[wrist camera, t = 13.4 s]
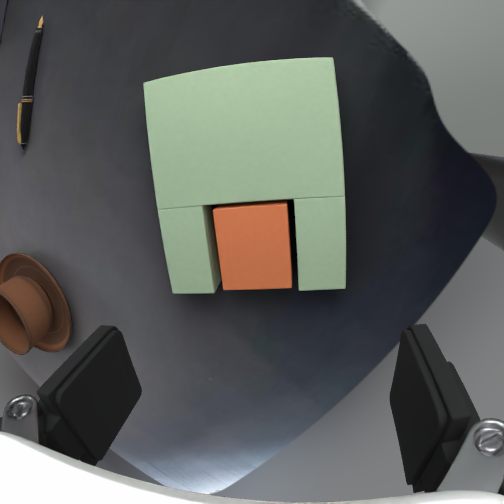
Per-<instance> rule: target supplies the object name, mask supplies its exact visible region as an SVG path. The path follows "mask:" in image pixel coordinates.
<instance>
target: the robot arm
mask: <svg viewBox="0 0 504 504" xmlns="http://www.w3.org/2000/svg"><path fill="white" fill-rule="evenodd" d="M141 392H142V390H141V386H140V383H139V380H138V378H137V375H136V372H135V370H134V367H133V364H132V361H131V358H130V356H129V353H128V350H127V347H126V344H125V341H124V338H123V335H122V333H121V332H120V331H119V330H118V329H117V327H115V326H100V327H99V328H98V329H97V330H96V331H95V332H94V333H93V334H92V335H91V336H90V337H89V338H88V339H87V340H86V341H85V342H84V343H83V344H82V345H81V346H80V347H79V348H78V349H77V350H76V351H75V352H74V353H73V354H72V355H71V356H70V357H69V358H68V359H67V360H66V361H65V362H64V363H63V364H62V365H61V366H60V367H59V368H58V369H57V370H56V371H55V372H54V374H53V375H52V376H51V377H50V378H49V379H48V380H47V381H46V382H45V383H44V384H43V385H42V386H41V387H40V389H39V390H38V391H37V394H38V396H39V397H40V400H39V402H38V401H37V400H36V399H35V397H33V396H31V395H20V396H17V397H15V398H13V399H12V400H11V401H9V402H8V403H7V405H6V406H5V408H4V411H3V417H1V418H0V504H504V421H501V420H499V419H494V418H489V419H483V420H480V418H479V416H478V414H477V411H476V409H475V407H474V405H473V403H472V401H471V399H470V397H469V395H468V393H467V391H466V389H465V387H464V385H463V383H462V381H461V379H460V377H459V375H458V373H457V371H456V369H455V367H454V365H453V364H452V363H451V362H447V361H446V359H445V358H444V356H443V354H442V352H441V350H440V348H439V346H438V344H437V343H436V341H435V339H434V337H433V335H432V333H431V332H430V330H429V328H428V326H427V325H426V324H419V325H409V326H408V328H407V330H404V331H402V333H401V339H400V345H399V351H398V356H397V362H396V367H395V372H394V377H393V382H392V387H391V391H390V405H391V409H392V414H393V418H394V422H395V427H396V431H397V436H398V440H399V446H400V451H401V455H402V460H403V466H404V471H405V477H406V482H407V484H408V485H411V484H412V486H413V492H414V493H416V492H421V491H425V493H419V494H411V495H403V496H394V497H387V498H378V499H367V500H355V501H336V502H276V501H259V500H248V499H238V498H228V497H221V496H213V495H207V494H201V493H195V492H190V491H184V490H179V489H174V488H170V487H165V486H161V485H156V484H152V483H148V482H144V481H141V480H137V479H133V478H130V477H126V476H123V475H120V474H116V473H113V472H110V471H107V470H104V469H101V468H98V467H95V465H96V464H97V462H98V461H99V460H102V459H103V457H104V455H105V454H106V452H107V450H108V449H109V447H110V446H111V444H112V442H113V441H114V439H115V437H116V436H117V434H118V432H119V431H120V429H121V427H122V426H123V424H124V423H125V421H126V419H127V418H128V416H129V414H130V413H131V411H132V409H133V408H134V406H135V405H136V403H137V401H138V400H139V398H140V396H141ZM79 459H80V460H81V461H82V462H81V461H79Z"/></svg>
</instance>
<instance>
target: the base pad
mask: <svg viewBox="0 0 504 504" xmlns="http://www.w3.org/2000/svg"><path fill="white" fill-rule="evenodd" d="M144 96H145V108H146V119H147V129H148V139H149V148H150V156H151V165H152V172H153V180H154V187H155V194H156V201H157V208H158V214H159V221H160V227H161V233H162V239H163V244H164V250H165V256H166V261H167V266H168V271H169V277H170V282H171V287H172V291H173V294H188V293H215V291H216V289H217V287H218V285H219V283H220V281H221V276H220V268H219V261H218V254H217V246H216V239H215V231H214V223H213V215H212V207H211V205H215V204H227V203H240V202H254V201H269V200H285V199H294V209H295V225H296V242H297V262H298V284H299V291H305V290H326V289H345V288H346V212H345V197H344V196H345V186H344V166H343V150H342V136H341V124H340V113H339V103H338V94H337V85H336V77H335V69H334V61H333V58H301V59H285V60H273V61H262V62H253V63H245V64H237V65H230V66H223V67H217V68H211V69H205V70H199V71H194V72H189V73H184V74H179V75H174V76H170V77H165V78H161V79H157V80H153V81H149V82H145V83H144Z"/></svg>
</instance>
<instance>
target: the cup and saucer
mask: <svg viewBox="0 0 504 504" xmlns="http://www.w3.org/2000/svg"><path fill="white" fill-rule="evenodd" d="M71 328H72V326H71V317H70V312H69V308H68V305H67V302H66V299H65V297H64V295H63V293H62V291H61V289H60V287H59V285H58V284H57V282H56V281H55V279H54V278H53V276H52V275H51V274H50V273H49V272H48V270H47V269H46V268H45V267H44V266H42V265H41V264H40V263H39V262H38V261H36V260H35V259H33V258H32V257H30V256H28V255H25V254H21V253H15V254H10V255H8V256H6V257H5V258H4V259H3V260H2V261H1V263H0V341H1V342H2V344H3V345H4V346H5V347H7V348H8V349H9V350H10V351H12V352H14V353H16V354H19V355H24V354H26V353H27V352H29V351H30V350H31V349H32V348H33V347H36V348H38V349H40V350H43V351H46V352H58V351H60V350H62V349H63V348H64V347H65V346H66V345H67V343H68V341H69V339H70V336H71Z"/></svg>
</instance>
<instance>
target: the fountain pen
mask: <svg viewBox="0 0 504 504" xmlns="http://www.w3.org/2000/svg"><path fill="white" fill-rule="evenodd" d="M42 23H43V19H42V17H41V19H40V21H39V26H38V28H36V31H35V34H34V38H33V42H32V46H31V50H30V55H29V59H28V64H27V69H26V75H25V81H24V89H23V96H22V98H21V103H19V104H18V116H17V140H18V143H20V144H21V146H22V148H23V150H24V148H25V146H26V144H27V140H28V134H29V127H30V119H31V110H32V101H33V96H32V95H33V87H34V79H35V73H36V65H37V59H38V52H39V46H40V41H41V35H42V30H43V28H42ZM20 105H21V109H20ZM19 113H20V133H19Z"/></svg>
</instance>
